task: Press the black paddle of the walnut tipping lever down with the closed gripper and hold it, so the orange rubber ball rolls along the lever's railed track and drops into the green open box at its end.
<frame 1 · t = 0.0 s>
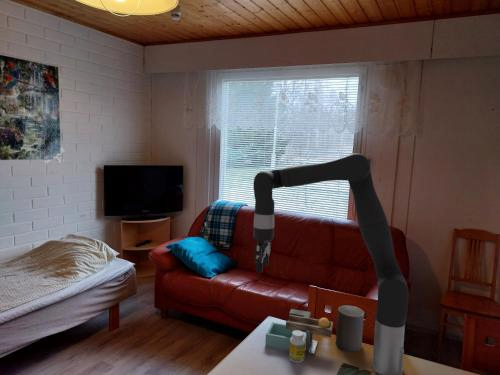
hand: (262, 269, 135), 29 cm above the table, fingers open, 8 cm apart
supplement bottle: (296, 359, 129), on the table
green open box: (281, 342, 140), on the table
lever: (309, 320, 140), point 9 cm above the table, hinge at 0.0°, touching ball
ball: (324, 323, 134), point 11 cm above the table, touching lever
stand: (308, 348, 136), on the table
pillar candle: (348, 345, 140), on the table
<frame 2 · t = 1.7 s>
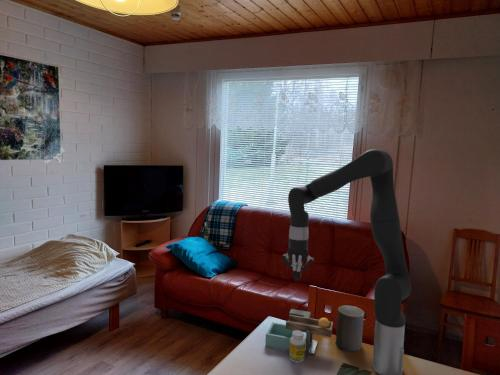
hand: (296, 279, 146), 22 cm above the table, fingers closed
nothing on the table moved.
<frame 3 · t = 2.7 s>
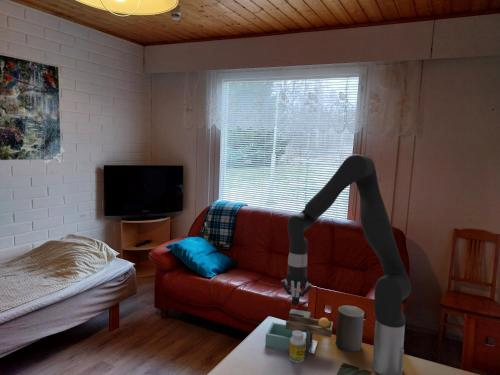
hand: (295, 305, 147), 11 cm above the table, fingers closed
nothing on the table moved.
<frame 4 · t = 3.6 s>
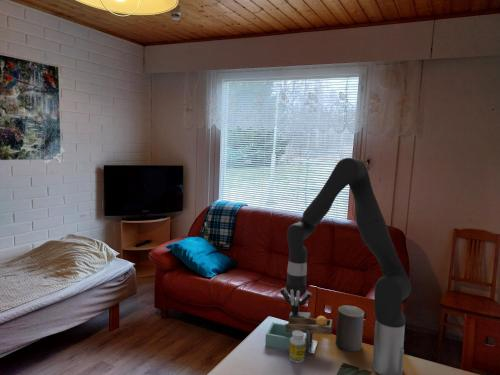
hand: (294, 313, 147), 8 cm above the table, fingers closed
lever: (309, 320, 140), point 9 cm above the table, hinge at 7.1°, touching ball, gripper
ball: (321, 321, 134), point 11 cm above the table, tilted 22°, touching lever
everything else where it was.
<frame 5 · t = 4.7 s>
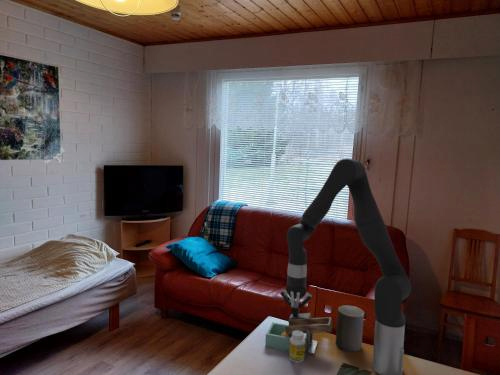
hand: (294, 315, 148), 7 cm above the table, fingers closed
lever: (309, 320, 140), point 9 cm above the table, hinge at 13.4°, touching gripper
ball: (286, 337, 139), point 3 cm above the table, tilted 31°, touching green open box
everything else where it was.
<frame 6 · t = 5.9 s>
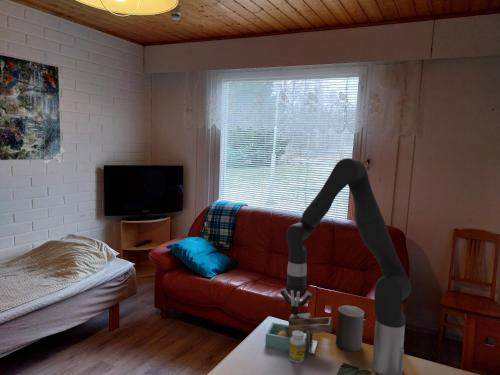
hand: (295, 314, 147), 8 cm above the table, fingers closed
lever: (309, 320, 140), point 9 cm above the table, hinge at 13.4°
ball: (282, 336, 139), point 3 cm above the table, tilted 70°, touching green open box
everything else where it was.
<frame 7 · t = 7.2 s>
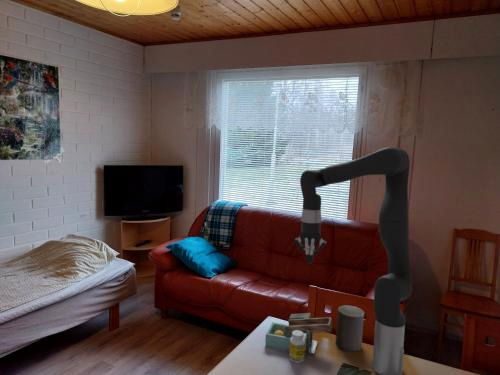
hand: (309, 263, 146), 29 cm above the table, fingers closed
ball: (278, 335, 140), point 3 cm above the table, tilted 111°, touching green open box
everything else where it was.
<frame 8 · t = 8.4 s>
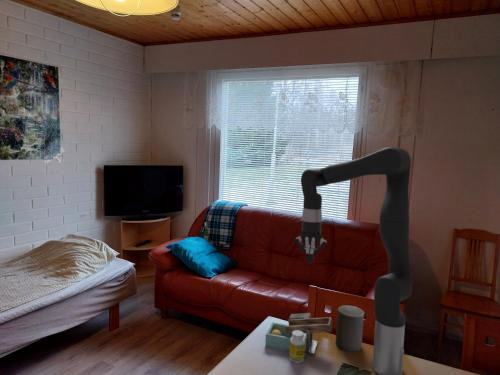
hand: (309, 262, 146), 29 cm above the table, fingers closed
ball: (276, 335, 140), point 3 cm above the table, tilted 141°, touching green open box
everything else where it was.
at the end: ball inside the target area on the green open box (2.1 cm from its centre), point 2.6 cm above the green open box's base; ball moved 19.3 cm from its start; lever at +13° (first picture: +0°) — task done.
